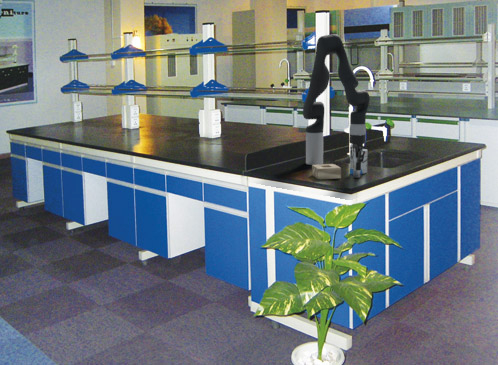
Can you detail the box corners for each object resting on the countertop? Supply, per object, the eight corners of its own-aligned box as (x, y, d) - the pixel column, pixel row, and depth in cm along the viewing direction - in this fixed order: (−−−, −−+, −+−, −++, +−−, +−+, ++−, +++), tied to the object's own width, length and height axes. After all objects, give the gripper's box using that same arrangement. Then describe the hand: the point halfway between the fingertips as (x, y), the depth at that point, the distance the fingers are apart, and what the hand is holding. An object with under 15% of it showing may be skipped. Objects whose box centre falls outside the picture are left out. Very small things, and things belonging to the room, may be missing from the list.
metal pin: (352, 176, 289) (352, 151, 287) (358, 176, 290) (359, 151, 287) (354, 177, 286) (355, 152, 284) (361, 177, 287) (361, 152, 284)
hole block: (312, 175, 298) (312, 165, 297) (333, 173, 300) (333, 163, 299) (318, 179, 287) (318, 169, 286) (340, 178, 289) (341, 167, 288)
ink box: (357, 175, 295) (358, 145, 292) (349, 174, 298) (349, 144, 295) (367, 172, 301) (368, 143, 298) (359, 171, 304) (359, 142, 301)
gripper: (344, 131, 290) (344, 167, 293) (355, 135, 276) (354, 172, 280) (359, 131, 291) (359, 166, 295) (370, 134, 277) (369, 171, 281)
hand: (356, 169), depth 287 cm, fingers closed on metal pin, 3 cm apart
